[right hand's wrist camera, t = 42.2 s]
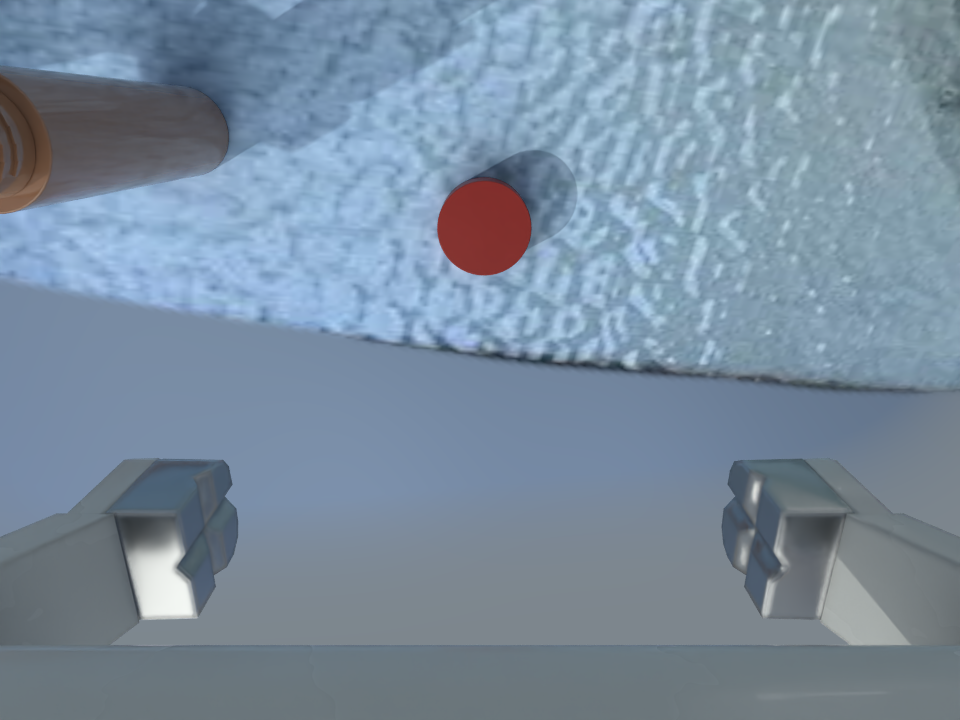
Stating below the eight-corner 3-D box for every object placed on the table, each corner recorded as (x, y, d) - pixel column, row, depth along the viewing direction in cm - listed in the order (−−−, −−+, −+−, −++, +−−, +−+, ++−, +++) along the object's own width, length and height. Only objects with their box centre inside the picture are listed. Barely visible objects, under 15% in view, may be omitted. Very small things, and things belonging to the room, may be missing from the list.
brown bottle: (246, 141, 36) (41, 161, 19) (186, 192, 37) (-59, 253, 20) (186, 66, 35) (-93, 16, 18) (125, 121, 36) (-193, 123, 19)
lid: (450, 167, 36) (449, 170, 34) (538, 189, 37) (542, 194, 35) (431, 255, 38) (428, 263, 36) (515, 275, 39) (517, 285, 36)
